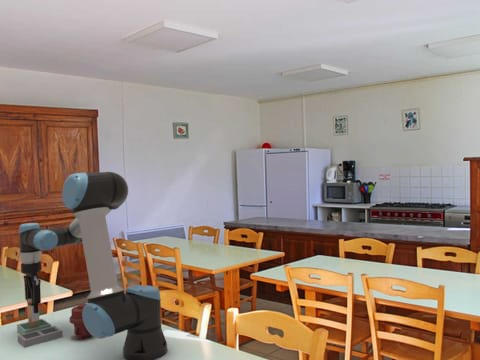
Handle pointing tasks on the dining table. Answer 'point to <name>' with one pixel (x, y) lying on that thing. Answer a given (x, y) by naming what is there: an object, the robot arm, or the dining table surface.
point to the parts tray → (25, 328)
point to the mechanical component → (79, 322)
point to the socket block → (40, 336)
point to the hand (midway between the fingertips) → (33, 319)
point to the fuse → (31, 324)
